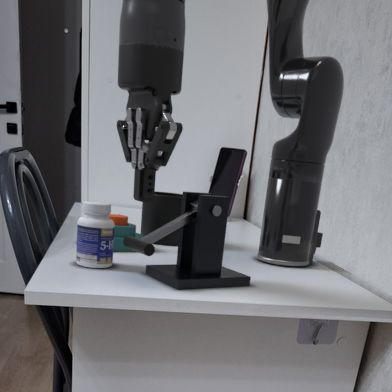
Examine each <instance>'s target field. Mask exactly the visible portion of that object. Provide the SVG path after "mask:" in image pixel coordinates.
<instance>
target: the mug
mask: <svg viewBox="0 0 392 392" xmlns="http://www.w3.org/2000/svg"><path fill="white" fill-rule="evenodd" d="M182 196H183V193H177V192H167V191H156V190H155V193H154V200H153V202H141V204H142V205H141V218H140V219H141V221H140V234H141V235H144V236H146V235H148V234H150V233H151V232H153V231H155V230H157V229H159V228H160V227H162V226H164V225H166V224H167V223H169V222H171V221H173V220H174V219H176V218H178V217H180V216H181V207H182ZM179 230H180V228H179V229H177V230H175V231H174V232H172V233H170V234H168V235H167V236H165V237H163V238H161V239H160V240H158V241H156V242H154V243H153V244H156V245H164V246H178V241H179Z"/></svg>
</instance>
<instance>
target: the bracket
mask: <svg viewBox="0 0 392 392" xmlns="http://www.w3.org/2000/svg"><path fill="white" fill-rule="evenodd" d="M182 194H183V196H182V207H181V215H183V214H185V213H187V212H189V211H190V210H192V208H191V205H190V203H192V202H193V201H195V200H197V199H198V209H197V219H194V220H193V221H191V222H189V223H187V224H186V225H184V226H182V227H181V228H180V230H179V241H178V245H177V254H176V263H175V264H174V263H170V264H146V265H145V275H147V276H149V277H151V278H153V279H154V280H155V279H156V280H157V281H160V282H162V283H164V284H166V285H168V286H170V287H172V288H173V289H176V290H191V289H209V288H210V289H211V288H212V289H213V288H229V287H232V288H233V287H249V286H250V285H251V278H252V277H251V276H250V275H247V274H244V273H242V272H239V271H237V270H234V269H231V268H228V267H225V266H223V260H224V251H225V241H226V234H227V224H228V215H229V208H230V207H229V206H230V199H231V198H230V196H225V195H214V194H213V193H211V192H196V191H182Z"/></svg>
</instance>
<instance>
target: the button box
mask: <svg viewBox="0 0 392 392" xmlns="http://www.w3.org/2000/svg"><path fill="white" fill-rule="evenodd" d="M126 236H132V237H134V238H137V239H141V238H143V237H144V235H141V233H139V232H137V224H134V223H131V222H128V226H116V225H114V245H113V252H136V251H135V250H132V249H130V248H128V247H125V246H124V244H123V240H124V238H125V237H126Z"/></svg>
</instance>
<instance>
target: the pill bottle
mask: <svg viewBox="0 0 392 392" xmlns="http://www.w3.org/2000/svg"><path fill="white" fill-rule="evenodd" d="M81 209H82V213H83V216H81V217H79V218H78V219H77V223H76V224H77V225H76V249H75V250H76V251H75V253H76V255H75V261H76V264H77V265H79V266H81V267H84V268H85V267H86V268H92V269H106V268H110V267H112V266H113V262H114V261H113V260H114V251H113V245H114V222H113V221H112V220H111V219H109V215H110V214H111V213H112V204H111V203H109V202H105V201H104V202H103V201H94V200H93V201H90V200H85V201H82V208H81Z"/></svg>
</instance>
